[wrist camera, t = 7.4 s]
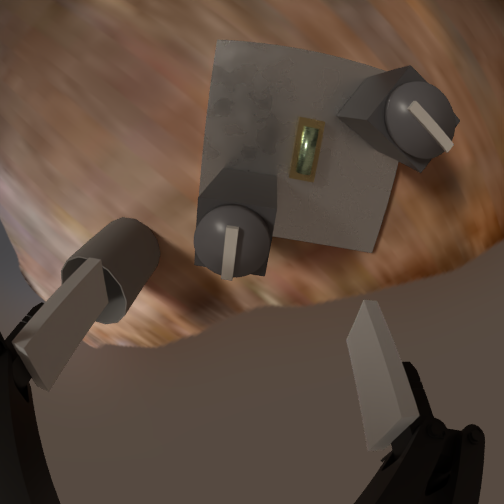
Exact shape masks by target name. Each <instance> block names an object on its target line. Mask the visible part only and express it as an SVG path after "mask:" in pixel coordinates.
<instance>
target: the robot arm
mask: <svg viewBox="0 0 504 504" xmlns="http://www.w3.org/2000/svg"><path fill="white" fill-rule="evenodd" d="M108 303H109V302H108V297H107V292H106V286H105V281H104V275H103V269H102V262H101V259H95V258H90V257H89V258H88V259H87V260H86V261H85V262H84V263H83V264H82V265H81V266H80V267H79V268H78V269H77V270H76V271H75V272H74V273H73V274H72V275H71V276H70V277H69V278H68V279H67V280H66V281H65V282H64V283H63V284H62V285H61V286H60V287H59V288H58V289H57V290H56V292H55V293H54V294H53V295H52V296H51V297H50V298H49V299H48V300H47V301H46V302H45V303H40V304H38V305H37V306H35V307H33V308H32V309H31V310H30V312H29V313H28V314H27V316H25V317H24V318H23V320H22V322H20V323H19V324H18V325H17V326H16V328H15V329H14V330H13V331H12V332H11V333H10V335H9V336H8V337H7V338H6V340H4V338H3V337H2V334H1V332H0V504H60V501H59V499H58V496H57V493H56V491H55V488H54V485H53V482H52V479H51V476H50V473H49V470H48V466H47V463H46V459H45V456H44V452H43V448H42V444H41V440H40V436H39V431H38V427H37V422H36V416H35V411H34V405H33V398H32V392H31V386H30V384H29V381H30V379H31V378H32V379H33V381H34V382H35V384H36V385H37V386H38V387H40V388H42V389H44V390H46V391H48V392H49V391H50V390H51V388H52V386H53V385H54V383H55V381H56V380H57V378H58V376H59V375H60V373H61V372H62V370H63V368H64V367H65V365H66V364H67V362H68V361H69V359H70V357H71V356H72V354H73V353H74V351H75V350H76V348H77V347H78V345H79V344H80V342H81V341H82V339H83V338H84V336H85V335H86V334H87V332H88V331H89V329H90V328H91V326H92V325H93V323H94V322H95V321H96V319H97V318H98V316H99V315H100V314H101V312H102V311H103V309H104V308H105V307H106V305H107V304H108ZM346 341H347V346H348V350H349V354H350V359H351V363H352V368H353V373H354V377H355V382H356V387H357V392H358V398H359V403H360V408H361V414H362V420H363V425H364V431H365V437H366V443H367V450H368V451H376V450H384V449H385V448H387V446H389V445H390V444H391V445H392V451H391V452H390V453H389V454H387V455H386V456H385V457H384V458H383V459H382V460H381V461H382V462H383V461H384V460H385V461H384V463H383V464H382V466H381V467H380V469H379V470H378V472H377V473H376V475H375V476H374V477H373V479H372V480H371V482H370V483H369V484H368V486H367V487H366V489H365V490H364V491H363V493H362V494H361V495H360V497H359V498H358V499H357V500H356V502H355V503H354V504H478V502H479V496H480V489H481V482H482V474H483V464H484V449H485V437H484V433H483V431H482V430H481V429H480V428H479V427H478V426H476V425H473V424H471V425H468V426H466V427H465V428H464V429H463V430H462V431H459V430H453V429H447V428H446V426H445V424H444V423H443V422H442V421H440V420H439V419H436V418H434V416H433V414H432V411H431V408H430V405H429V402H428V399H427V396H426V394H425V391H424V389H423V385H422V383H421V382H420V377H419V375H418V372H417V370H416V369H415V367H414V366H413V365H412V364H411V363H410V362H402V361H401V359H400V356H399V353H398V351H397V348H396V346H395V343H394V340H393V338H392V335H391V333H390V330H389V328H388V325H387V323H386V321H385V318H384V316H383V313H382V311H381V309H380V306H379V304H378V302H377V301H373V300H363V302H362V305H361V307H360V309H359V312H358V314H357V317H356V319H355V321H354V324H353V326H352V328H351V331H350V333H349V335H348V337H347V340H346Z"/></svg>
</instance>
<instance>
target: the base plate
mask: <svg viewBox="0 0 504 504" xmlns="http://www.w3.org/2000/svg"><path fill="white" fill-rule="evenodd" d="M384 72H387V71H384V70H381V69H378V68H375V67H372V66H369V65H365V64H362V63H358V62H355V61H351V60H348V59H344V58H340V57H336V56H332V55H328V54H323V53H319V52H314V51H309V50H304V49H298V48H292V47H286V46H280V45H272V44H265V43H256V42H245V41H232V40H217V45H216V51H215V58H214V64H213V71H212V78H211V86H210V93H209V101H208V109H207V117H206V126H205V135H204V145H203V155H202V166H201V177H200V190H199V196H200V195H201V193H202V192H203V191H204V190H205V189H206V187H207V186H208V185H209V184H210V183H211V182H212V180H213V179H214V178H215V177H216V176H217V175H218V174H219V172H220V171H221V170H222V169H223V168H227V169H234V170H242V171H249V172H256V173H262V174H269V175H275V176H277V213H276V219H275V224H274V230H273V235H272V236H274V237H280V238H286V239H292V240H298V241H304V242H310V243H316V244H322V245H328V246H334V247H340V248H346V249H351V250H357V251H363V252H369V253H372V251H373V248H374V245H375V242H376V239H377V236H378V233H379V230H380V227H381V224H382V220H383V217H384V214H385V210H386V207H387V204H388V200H389V197H390V193H391V189H392V186H393V182H394V178H395V174H396V170H397V166H398V162H399V161H397V160H395V159H393V158H391V157H389V156H386V155H384V154H382V153H380V152H378V151H376V150H375V149H374V148H373V147H372V146H371V145H370V144H369V143H367V142H366V141H365V140H364V139H363V138H362V137H361V136H359V135H358V134H357V133H356V132H355V131H354V130H352V129H351V128H350V127H349V126H348V125H346V124H345V123H344V122H343V121H342V120H340V119H339V118H338V117H337V114H338V113H339V112H340V111H341V109H342V108H343V107H344V106H345V104H346V103H347V102H348V101H349V99H350V98H351V97H352V96H353V94H354V93H355V92H356V91H357V89H358V88H359V87H360V86H361V84H362V83H363V82H364V81H365V80H366V78H367V77H370V76H373V75H377V74H380V73H384ZM298 116H299V117H305V118H310V119H315V120H320V121H324V122H325V127H324V132H323V138H322V143H321V148H320V154H319V159H318V164H317V169H316V174H315V179H314V183H313V182H308V181H303V180H297V179H292V178H289V175H288V174H289V168H290V162H291V157H292V151H293V145H294V139H295V133H296V127H297V122H298Z"/></svg>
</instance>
